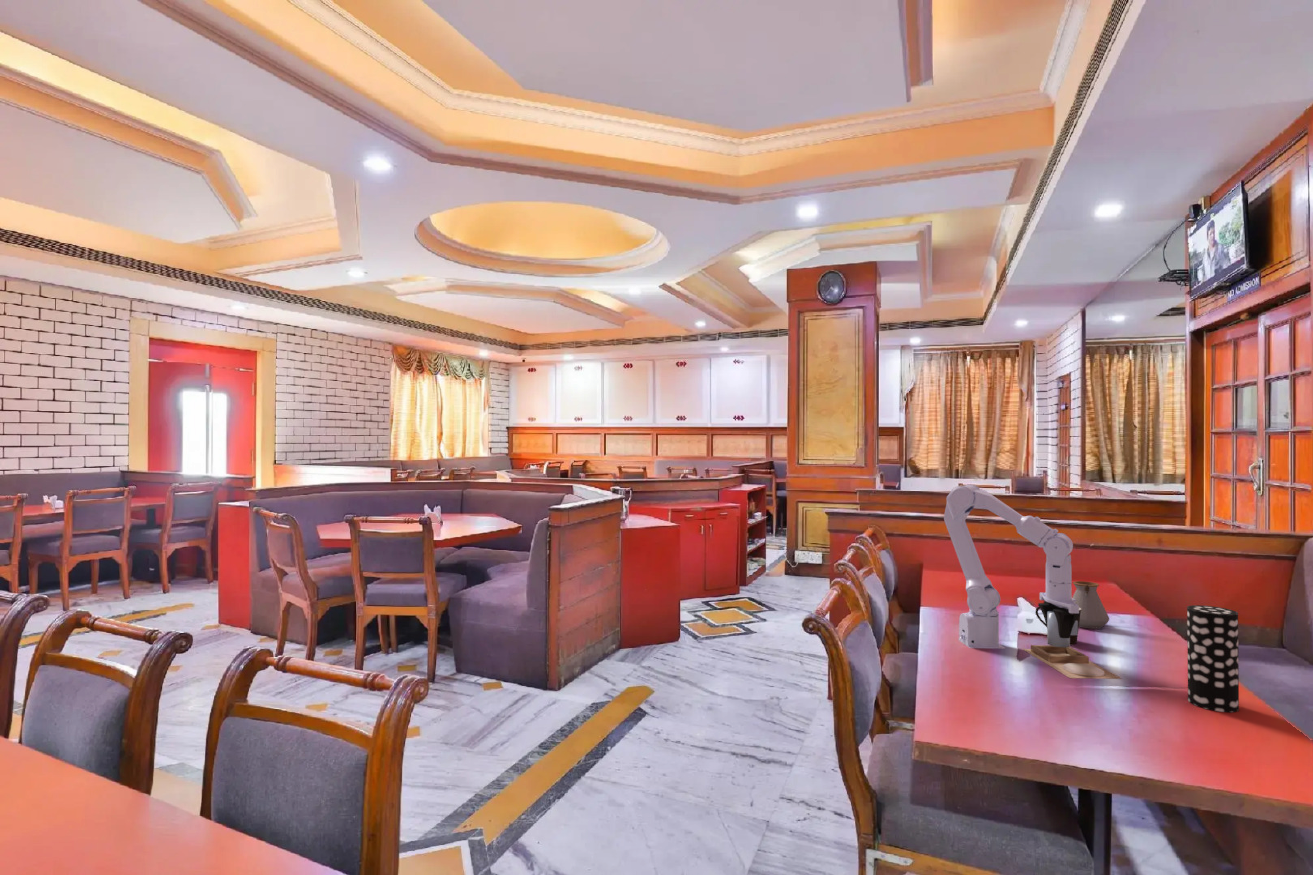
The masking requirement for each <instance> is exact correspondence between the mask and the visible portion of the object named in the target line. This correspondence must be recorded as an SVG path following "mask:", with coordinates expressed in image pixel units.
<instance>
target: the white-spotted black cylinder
mask: <svg viewBox="0 0 1313 875" xmlns="http://www.w3.org/2000/svg"><path fill="white" fill-rule="evenodd" d="M1186 612H1187V618H1186V619H1187V620H1186V621H1187V622H1186V624H1187V626H1186V628H1187V629H1186V630H1187V632H1186V633H1187V634H1186V636H1187V645H1186V646H1187V701H1188V702H1189V703H1191V705H1194V706H1196V707H1198V708H1202V709H1204V710H1209V711H1214V712H1220V713H1236V711H1237V712H1238V711H1239V710H1240V692H1239V691H1240V689H1239V688H1240V683H1239V680H1240V679H1239V677H1240V676H1239V675H1240V673H1239V672H1240V671H1239V664H1240V663H1239V612H1237V611H1235V610H1232V609H1229V608H1225V607H1220V606H1212V605H1199V604H1197V605H1196V604H1195V605H1188V606H1186Z"/></svg>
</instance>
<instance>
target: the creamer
mask: <svg viewBox="0 0 1313 875" xmlns="http://www.w3.org/2000/svg"><path fill="white" fill-rule="evenodd" d="M1046 629H1047V630H1046V631H1047V632H1046V635H1047V636H1046V641H1047V642H1046V643H1047V644H1046V645H1051V646H1055V647H1063V648H1066V647H1071V645H1070V638H1060V636H1059V631H1058V623H1057V619H1056V616H1055V614H1054V612H1053V611H1048V612H1047V627H1046ZM1071 635H1078V636H1079V630H1078V621H1075V623H1074V625H1073V628H1072V631H1071Z"/></svg>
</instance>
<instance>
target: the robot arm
mask: <svg viewBox="0 0 1313 875" xmlns="http://www.w3.org/2000/svg"><path fill="white" fill-rule="evenodd" d="M945 498H946V505H945V510H944V515H943V520H944V524H945V526H946V530H947V531H948V534H949V537H950V541H951V543H952V545H953V547H954V551H955V554H956V556H957V557H956V558H957V559H958V562H959V565H960V567H961V570H962V573H963V575H964V578H965V582H966V583H965V591H966V593H967V599H966V604H967V606H968V608H969V609H968V610H969V611H967V612H962V613H960V615H959V620H958V628H959V629H958V632H959V633H958V636H959V637H958V641H959V642H960V643H962V644H963V645H965V646H966V647H968V648H969V649H1006V647H1004V646H1003V645H1001V644H1000V638H999V637H1000V635H999V634H1000V632H999V631H1000V628H999V627H1000V626H999V625H1000V624H999V620H1000V617H999V611H998V609H997V607H998V606H999V605H1000V602H1001V596H1000V592H999V591H998V590H997V589H996V588H995V587H994V586H993V584H992V581H991V579H989V577H988V576H987V575H986V573H985V572H986V571H985V570H984V567H983V565H982V562H981V559H980V557H979V554H978V551H977V549H976V546H975V544H974V540H973V538H972V536H971V532H970V531H969V528H968V525H967V522H966V519H968V517H969V514H970V513H971V511H973V509H981V510H988V511H990V512H991V513H993V514H995V515H997V516H998V517H1000V518H1001V519H1003V520H1004V521H1006V522H1009V523H1010V524H1012V525H1013V526H1015V529H1016V533H1017V534H1019V535H1020V536H1022V537H1023V538H1024V539H1026V540H1028V542H1031V543H1033V545H1036V546H1037V547H1038V548H1042V549H1043V552H1044V553H1045V555H1046V557H1045V559H1046V562H1045V592H1042V591H1041V592H1039V600H1040V601H1043V602H1039V603H1038V602H1037V603H1038V604H1037V605H1038V606H1037V607H1040V609H1039V610H1040V611H1041V613H1042V614H1043V619H1044V622H1045V623H1046V626H1047V612H1048V611H1053V612H1054V614H1055V616H1056V619H1057V623H1058V631H1059V636H1060V638H1070V635H1071V631H1072V628H1073V625H1074V623H1075V621H1076V620H1077V618H1078V617H1079V616H1080V612H1079V606H1078V605H1076V604H1075V603H1074V602H1076V600H1075V599H1073V598H1072V597H1073V595H1072V591H1073V590H1072V584H1073V582H1072V580H1073V579H1072V578H1073V577H1072V576H1073V574H1072V563H1071V562H1072V555H1071V553H1072V551H1073V548H1074V544H1073V541H1072V539H1071V538H1070V537H1069V536H1067V534H1066V533H1063V532H1059V530H1058V529H1057V528H1054V529H1053V528H1052V527H1050V526H1048V525H1047V524H1045V523H1044V522H1042V521H1041V520H1042V519H1041V518H1040V517H1039V516H1035V517H1034V516H1033V515H1026V516H1023V515H1022V514H1020V513H1019V512H1018V511H1016V510H1015V509H1013V508H1012V507H1010V506H1009V505H1007V504H1006V503H1005V502H1003V501H1002V500H1000V498H997V497H996V496H994V495H993V494H991V493H990V492H988V491H987V490H985V489H982V488H980V487H978V486H977V485H975V484H971V483H970V484H965V485H958V486H955V487H953V488H952V489H951V491H950V492H949V494H948V495H947V496H946V497H945ZM1046 626H1045V627H1046Z"/></svg>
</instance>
